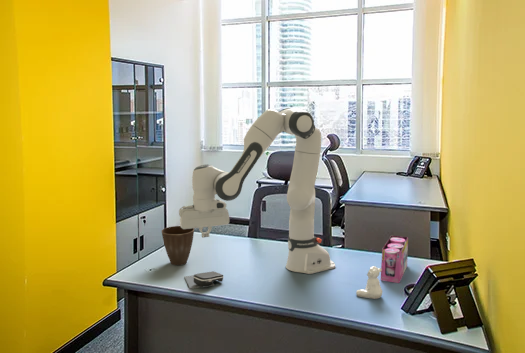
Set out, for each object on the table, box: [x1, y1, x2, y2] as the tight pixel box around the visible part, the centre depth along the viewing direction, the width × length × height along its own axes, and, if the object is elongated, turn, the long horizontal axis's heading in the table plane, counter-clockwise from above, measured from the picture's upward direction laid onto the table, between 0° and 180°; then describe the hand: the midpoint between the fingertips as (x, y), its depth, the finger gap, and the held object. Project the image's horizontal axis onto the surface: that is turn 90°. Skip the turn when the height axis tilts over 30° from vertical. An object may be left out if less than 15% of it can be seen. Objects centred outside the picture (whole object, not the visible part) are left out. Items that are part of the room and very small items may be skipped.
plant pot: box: [161, 225, 195, 266], centre depth 205 cm, size 15×15×16 cm
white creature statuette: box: [355, 265, 383, 300], centre depth 166 cm, size 10×9×12 cm
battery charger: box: [193, 270, 224, 287], centre depth 179 cm, size 7×4×11 cm
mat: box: [184, 274, 215, 290], centre depth 183 cm, size 10×13×1 cm
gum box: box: [380, 235, 409, 284], centre depth 188 cm, size 24×8×14 cm, turn 154°
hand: (205, 236), depth 181 cm, fingers closed
